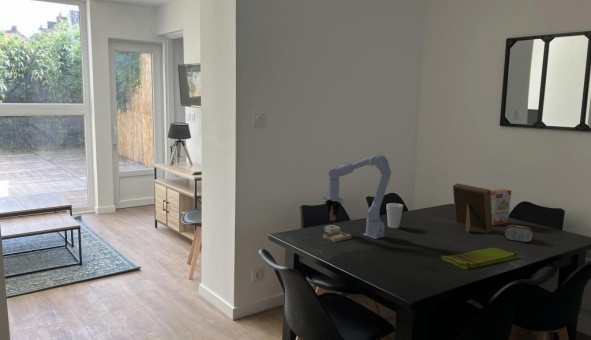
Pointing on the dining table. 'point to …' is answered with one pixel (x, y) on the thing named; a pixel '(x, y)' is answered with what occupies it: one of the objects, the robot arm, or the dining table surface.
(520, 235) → the tin
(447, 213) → the dining table surface
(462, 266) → the dish towel
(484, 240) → the dining table surface
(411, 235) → the dining table surface
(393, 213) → the foam cup
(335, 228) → the gray square open box
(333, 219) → the pin
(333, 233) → the tray
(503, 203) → the cracker box
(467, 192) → the photo frame
